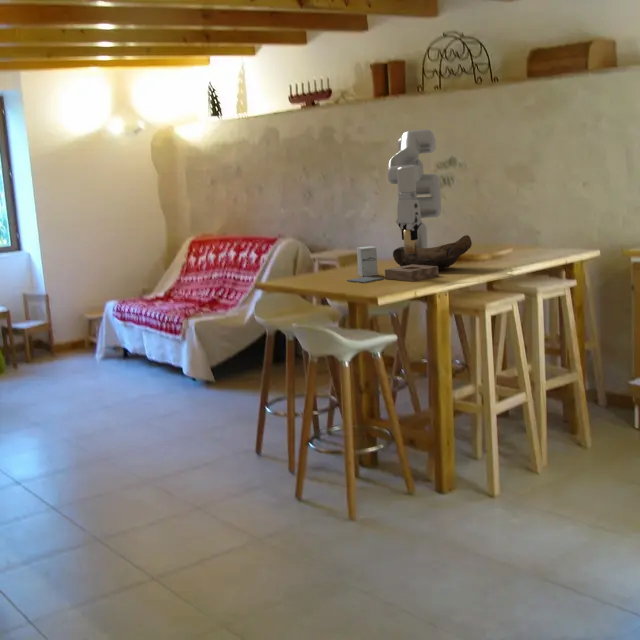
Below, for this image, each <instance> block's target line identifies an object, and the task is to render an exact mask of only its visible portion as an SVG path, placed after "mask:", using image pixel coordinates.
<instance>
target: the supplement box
mask: <svg viewBox="0 0 640 640" xmlns="http://www.w3.org/2000/svg"><path fill="white" fill-rule="evenodd" d="M377 256H378V255H377V247H376V246H372V245H371V246H370V245H369V246H359V247H356V258H357V259H356V260H357V273H358V276H360V277H363V276H364V277H366V276H368V277H374V276H378V275H379V274H378V260H377V259H378V257H377ZM373 275H374V276H373Z"/></svg>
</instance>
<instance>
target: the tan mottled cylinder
mask: <svg viewBox="0 0 640 640" xmlns="http://www.w3.org/2000/svg"><path fill="white" fill-rule="evenodd" d="M411 231H412V229H405V230H403V232H404V240H403V244H404V245H403V247H404V250H405V254H415V253H417V252H416V240H411Z"/></svg>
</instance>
